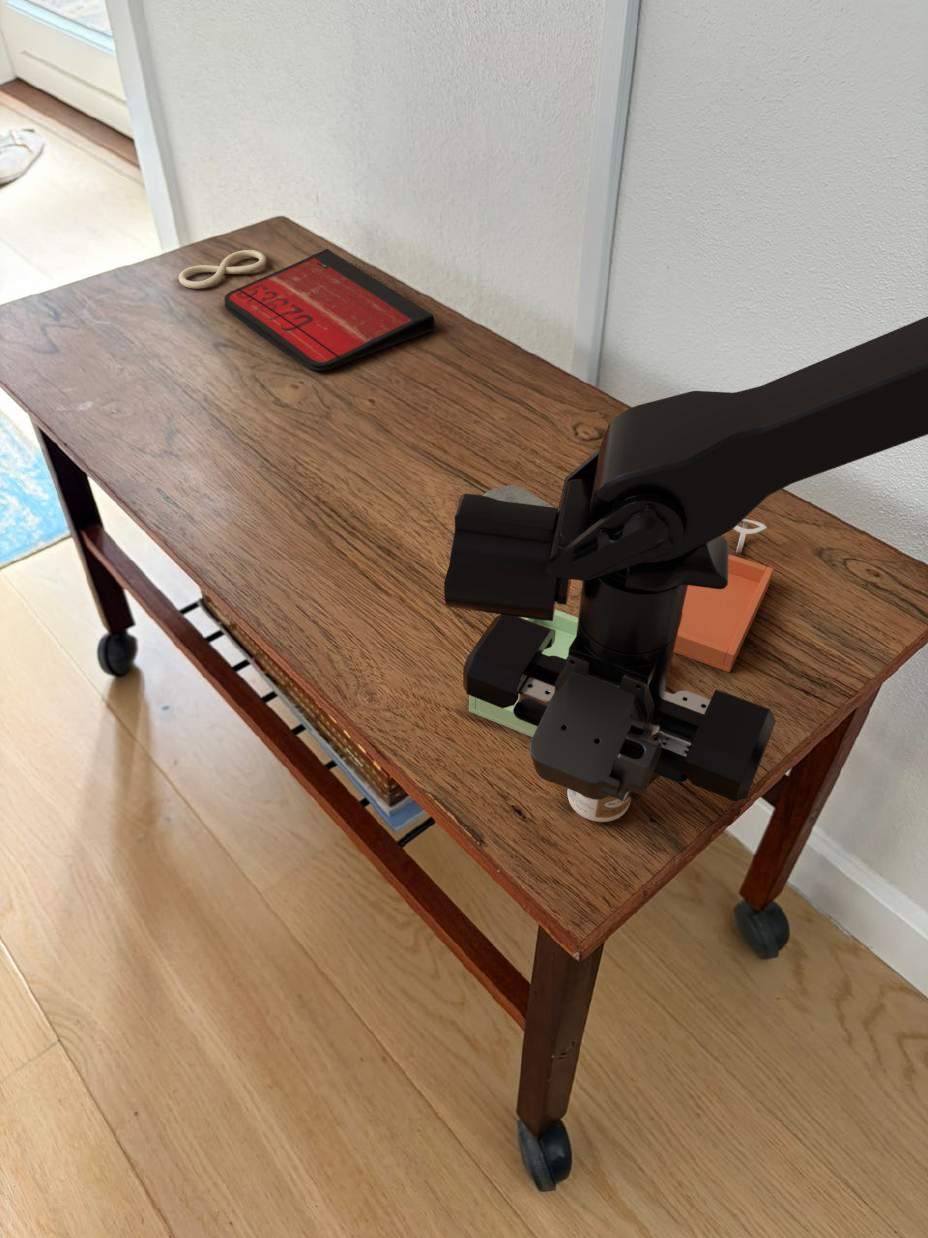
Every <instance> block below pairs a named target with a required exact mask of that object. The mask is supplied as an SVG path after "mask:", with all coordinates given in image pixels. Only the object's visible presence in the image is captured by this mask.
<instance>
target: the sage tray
mask: <svg viewBox="0 0 928 1238" xmlns="http://www.w3.org/2000/svg"><path fill="white" fill-rule="evenodd" d="M578 617H579V616H575V615H572V614H570V613H567V612H564V611H562V610H558V609H556V608H555V612H554V618H553V621H548V620H537V619H530V618H523V617H521V618H523V619H526V620H529V621H531V622H534V623H537V624H540V625H542V626H545V627H548V628H551V629H553V630H556V634H555V642H554V643H553V645H552V647H550V648H547V649H544V651H543V652H542V654H545V655H547V656H553V655H554V656H558V657H561V658H564V659H566V658H567V657H568V652H569V647H570V646H571V644H572V642H573V641H574V639H575V638H576V634H577V625H578ZM518 700H519V697H518ZM518 700H517V702H518ZM517 702H516V703H515V705H516V704H517ZM515 705H513V706H510V707H506V708H500V707H498V706H495V705H493V704H490V703H488V702H485V701H483V700H480V699H478V698H475V697H473V696H470V695H468V712H469V713H472V714H474V715H477V716H479V717H481V718H483V719H485V720H489V721H491V722H494V723H496V724H499V725H501V726H504V727H506V728H508V729H511V730H514V731H516V732H518V733H521V734H523V735H525V736H527V737H531V738H533V736H534V733H535V731H536V729H537V726H535V725H532V724H530V723H527V722H525V721H522V720H520V719H518V718H516V717H515V715H514V713H513V709H514V707H515Z"/></svg>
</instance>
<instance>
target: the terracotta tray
mask: <svg viewBox="0 0 928 1238" xmlns="http://www.w3.org/2000/svg"><path fill="white" fill-rule="evenodd" d="M774 571H775V570H774V567H771V566H767V565H764V564H761V563H757V562H755V561H751V560H748V559H746V558H742V557H739V556H736V555H733V554H730V553H729V557H728V585H727V586H726V587H725V588H724V589H713V588H705V587H698V586H691V585H688V588H687V592H686V597H685V601H684V606H683V610H682V613H683V614H682V619H681V623H680V626H679V629H678V634H677V639H676V643H675V648H674V652H673V654H677V655H679V656H682V657H685V658H688V659H691V660H693V661H696V662H699V663H702V664H704V665H707V666H710V667H713V668H717V669H719V670H720V671H721V670H722V671H724V672H726V673H731V670H732V668H733V666H734V665H735V662H736V660H737V657H738V655H739V653H740V650H741V649H742V647H743V644H744V642H745V640H746V638H747V635H748V633H749V630H750V628H751V626H752V624H753V622H754V620H755V617H756V615H757V613H758V611H759V609H760V606H761V604H762V602H763V599H764V597H765V595H766V593H767V591H768V589H769V586H770V583H771V580H772V577H773V573H774Z"/></svg>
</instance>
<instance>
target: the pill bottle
mask: <svg viewBox="0 0 928 1238" xmlns="http://www.w3.org/2000/svg"><path fill="white" fill-rule="evenodd" d="M567 799H568V802H569V805H570V807H571V808H572V809H573V810H574V811H575V812H576V814H578V815H579V816H580V817H582V818H584V819H586V820H588V821H592V822H597V823H606V822H607V823H608V822H612V821H615V820H618V819H619V818H621V817H622V816H623V815H624V814H625V813H626V812H627V811H628V809H629V807H630V805H631V801H632V798H630V791H629V792H627V793H626V794H625V796H624V798H623V800H619V799H617V798H614V797H612V796H610V795H608V796H607V797H605V798H603V799H599V800H594V799H590V798H587V797H585V796H583V795H581V794H580V793H578V792H575V791H573V790H570V789H568V788H567Z"/></svg>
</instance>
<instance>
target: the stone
mask: <svg viewBox="0 0 928 1238" xmlns="http://www.w3.org/2000/svg"><path fill="white" fill-rule="evenodd" d="M482 496H487V497H490V498H493V499H496V500H500V501H507V502H515V503H522V504H530V505H538V506H546V507H554V508H556V506H554V505H552V504H551V503H549V502H547V501H545V500H544V499H541V498H540V497H538V496H536V495H534V494H533V493H532V492H531V491H528V490H527V489H525V488H523V487H520V486H518V485H516V484H508V485H506V486H500V487H496V488H492V489H489V490H488V491H486V492H485V493H484V494H482Z"/></svg>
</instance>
